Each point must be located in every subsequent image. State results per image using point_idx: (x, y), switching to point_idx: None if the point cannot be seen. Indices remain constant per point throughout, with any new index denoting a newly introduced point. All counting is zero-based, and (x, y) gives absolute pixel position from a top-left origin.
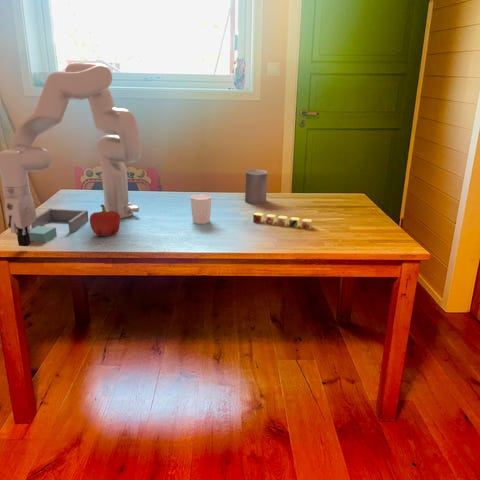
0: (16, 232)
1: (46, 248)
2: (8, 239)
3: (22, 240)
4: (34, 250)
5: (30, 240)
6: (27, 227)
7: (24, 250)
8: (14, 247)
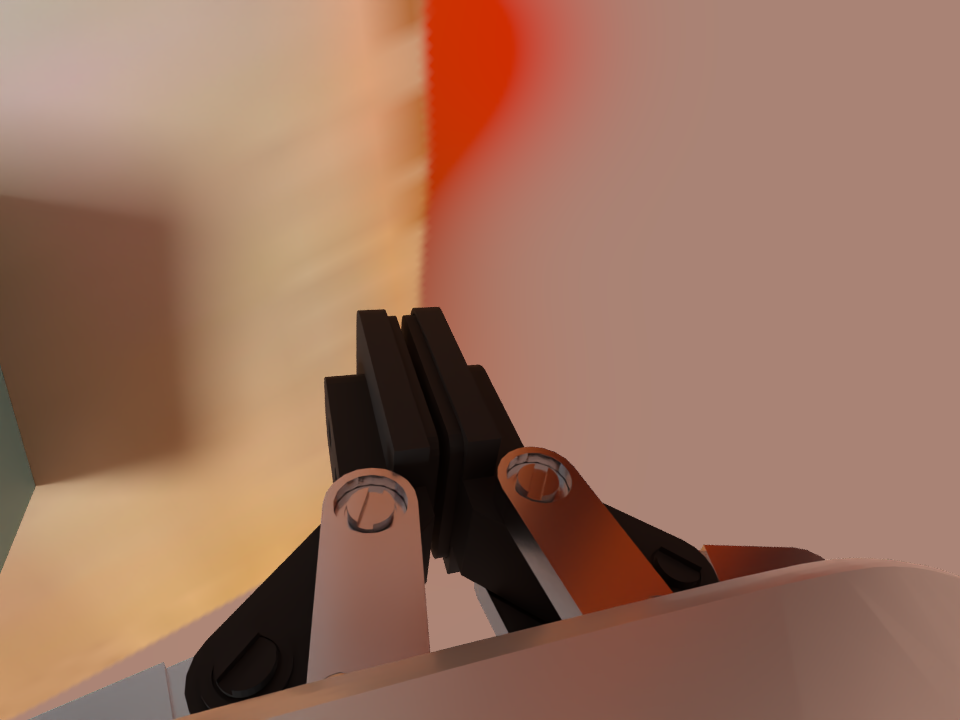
0: (755, 552)
1: (245, 10)
2: (96, 642)
3: (499, 414)
4: (384, 195)
5: (17, 448)
6: (423, 590)
7: None
8: (322, 470)
